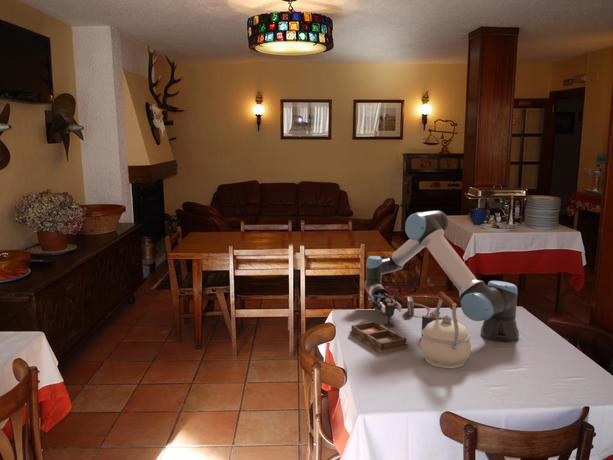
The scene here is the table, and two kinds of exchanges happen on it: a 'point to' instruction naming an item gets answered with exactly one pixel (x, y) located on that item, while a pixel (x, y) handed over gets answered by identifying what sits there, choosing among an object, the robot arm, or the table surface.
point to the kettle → (445, 339)
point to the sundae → (389, 309)
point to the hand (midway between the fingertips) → (392, 309)
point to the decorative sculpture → (411, 305)
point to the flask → (428, 320)
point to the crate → (378, 337)
